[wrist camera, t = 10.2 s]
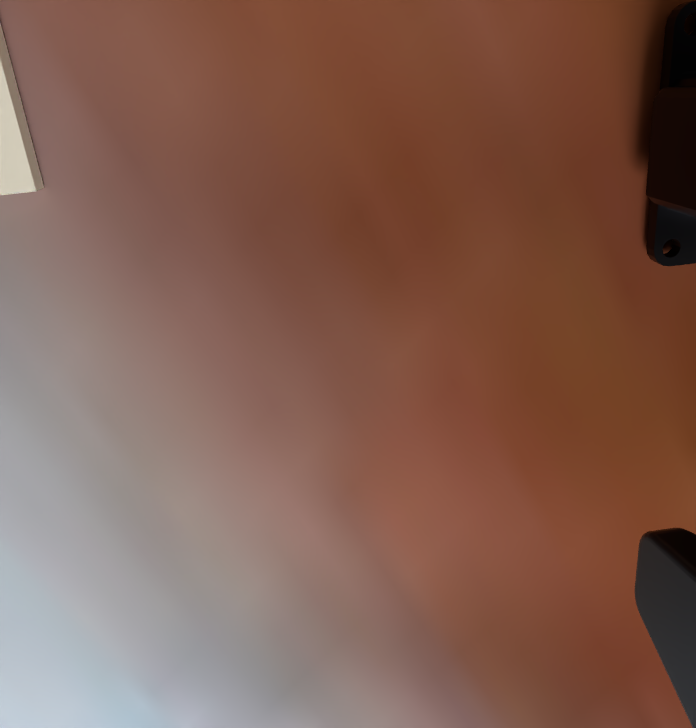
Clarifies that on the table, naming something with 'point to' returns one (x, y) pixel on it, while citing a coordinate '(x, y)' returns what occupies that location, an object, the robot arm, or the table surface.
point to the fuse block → (14, 135)
